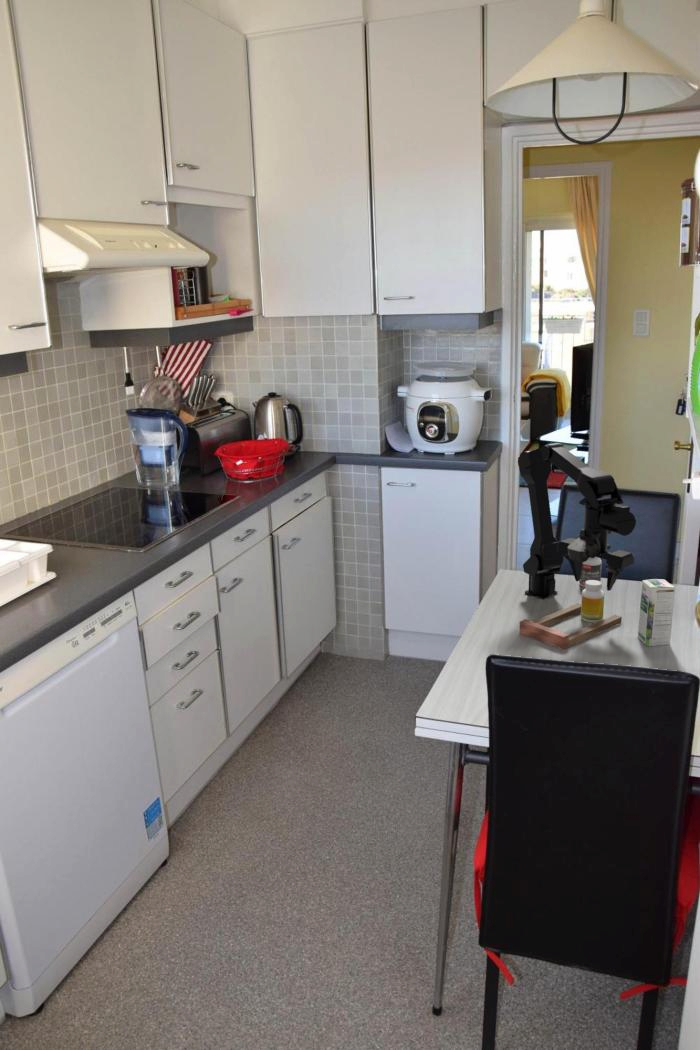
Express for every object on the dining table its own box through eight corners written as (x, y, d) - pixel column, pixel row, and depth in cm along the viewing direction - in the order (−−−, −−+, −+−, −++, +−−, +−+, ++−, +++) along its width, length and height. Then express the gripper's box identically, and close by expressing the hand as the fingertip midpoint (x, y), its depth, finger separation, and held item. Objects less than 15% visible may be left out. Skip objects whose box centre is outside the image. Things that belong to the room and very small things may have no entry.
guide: (519, 632, 205) (519, 621, 205) (577, 608, 219) (578, 597, 218) (563, 649, 196) (563, 637, 195) (621, 622, 209) (621, 611, 209)
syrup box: (636, 637, 201) (640, 579, 197) (660, 635, 201) (665, 578, 197) (646, 646, 195) (650, 587, 191) (671, 645, 196) (676, 586, 192)
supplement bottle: (603, 623, 209) (605, 586, 207) (581, 622, 211) (583, 585, 208) (602, 615, 215) (603, 579, 212) (580, 614, 216) (581, 578, 213)
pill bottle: (580, 588, 234) (582, 554, 231) (578, 581, 239) (579, 548, 236) (601, 588, 233) (603, 554, 230) (598, 581, 238) (600, 548, 235)
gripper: (544, 524, 208) (542, 584, 212) (609, 540, 194) (606, 603, 198) (572, 515, 215) (569, 573, 219) (637, 530, 201) (633, 592, 205)
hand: (593, 585), depth 210 cm, fingers open, 9 cm apart
